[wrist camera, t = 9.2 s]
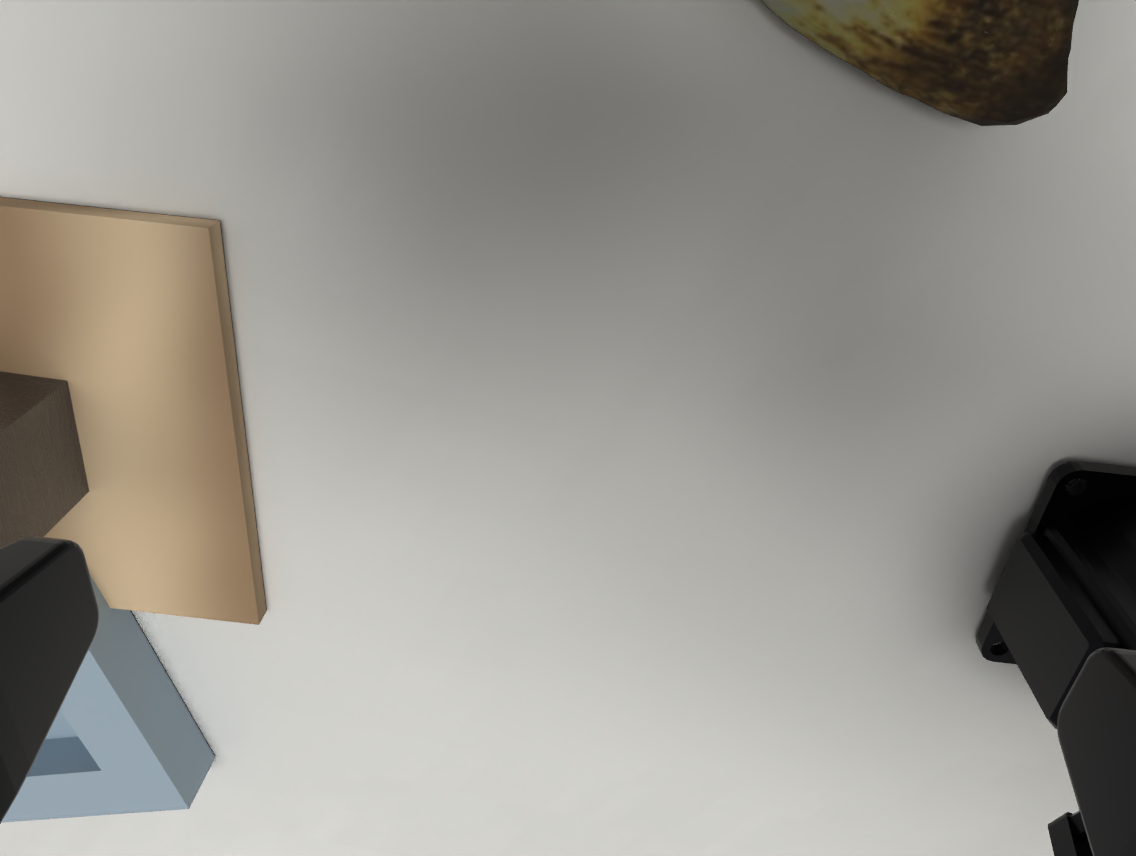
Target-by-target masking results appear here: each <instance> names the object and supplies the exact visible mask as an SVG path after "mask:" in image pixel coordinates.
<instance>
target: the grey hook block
mask: <svg viewBox="0 0 1136 856" xmlns="http://www.w3.org/2000/svg"><path fill="white" fill-rule="evenodd" d="M88 492H89V487H88V482H87V477H86V472H85V467H84V462H83V456H82V451H81V446H80V441H79V436H78V431H77V426H76V421H75V416H74V411H73V406H72V401H71V395H70V390H69V385H68V381H67V380H60V379H52V378H45V377H38V376H31V375H24V374H17V373H10V372H2V371H0V548H2V547H4V546H6V545H8V544H10V543H13V542H15V541H17V540H19V539H22V538H25V537H34V536H38V537H44V536H45V535H46V534H47V533H48V532H49V531H50V530H51V529H52V528H53V527H54V526H55V525H56V524H57V523H58V522H59V521H60V520H61V519H62V518H63V517H64V516H65V515H66V514H67V513H68V512H69V511H70V510H71V509H72V508H73V507H74V506H75V505H76V504H77V503H78V502H79V501H80V500H81V499H82V498H83V497H84V496H85V495H86V494H87V493H88Z"/></svg>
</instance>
